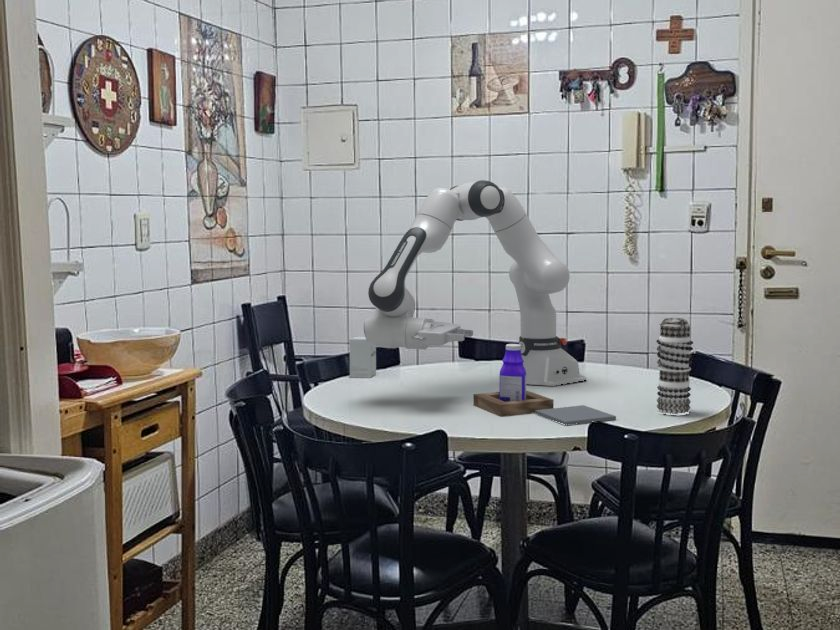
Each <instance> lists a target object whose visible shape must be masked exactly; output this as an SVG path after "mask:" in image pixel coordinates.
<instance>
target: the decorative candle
mask: <svg viewBox="0 0 840 630" xmlns="http://www.w3.org/2000/svg"><path fill="white" fill-rule="evenodd" d="M658 325H659V326H660V327H659V328H660V329H659V330H660V331H659V332H660V334H659V339H657V340H656V343H657V344H658V346H657V347H656V350H657V353H656V356H657V357H658V359H657V361H656V363H657V364H658V366H657V370H659V372H658V373H659V378H658V386H657V390H658V391H657V393H656V394H657V395H658V397H657V398H656V402H657V404H656V408H657V411H656V413H657V412H659V413H663V414H664V413H665V414H666V413H670V414H671V413H672V414H678V413H685V412H688V411H690V410H691V405H690V404H691V401H692V400H690V399H689V397H691V393H690V391H691V389H692V388H691V387H690V385H691V384H690V371H691V370H692V368H691V367H690V365H691V364H693V361H692V360H690V359H692V358H693V355H692V354H691V353H690V352H691V351H692V350H693V349H694V347H692V345H693V344H694V341H693V340H691V337H692V336H691V334H690V333H691V326H692V324H690V323H689V322H688V320H687V319H686V318H684V317H683V318H681V317H667V318H664V319H663V320H662V322H661V323H658Z"/></svg>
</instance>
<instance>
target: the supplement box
mask: <svg viewBox="0 0 840 630" xmlns="http://www.w3.org/2000/svg"><path fill="white" fill-rule="evenodd" d="M348 340H349V341H348V343H349V347H348V348H349V378H356V379H357V378H358V379H359V378H360V379H361V378H362V379H363V378H364V379H371V378H372V377H373V376H375V375H377V346H373V345H371V344H370V343H369V342H368V341H367V339H366V337H365V336H354V337H352V338H350V339H348Z"/></svg>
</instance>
